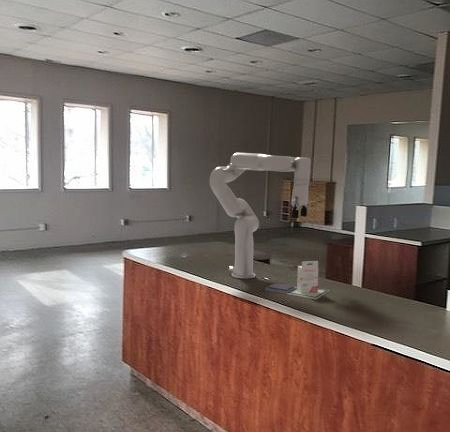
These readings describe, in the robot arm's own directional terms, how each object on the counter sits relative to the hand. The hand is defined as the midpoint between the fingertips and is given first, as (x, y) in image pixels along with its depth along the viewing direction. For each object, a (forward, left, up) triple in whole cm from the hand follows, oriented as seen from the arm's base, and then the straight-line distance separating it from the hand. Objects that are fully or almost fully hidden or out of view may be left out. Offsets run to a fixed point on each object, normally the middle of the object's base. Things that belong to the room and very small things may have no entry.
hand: (299, 217), depth 242 cm
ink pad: (0, -19, -33) cm, 38 cm away
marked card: (+12, -15, -33) cm, 39 cm away
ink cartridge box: (+12, -15, -33) cm, 38 cm away
